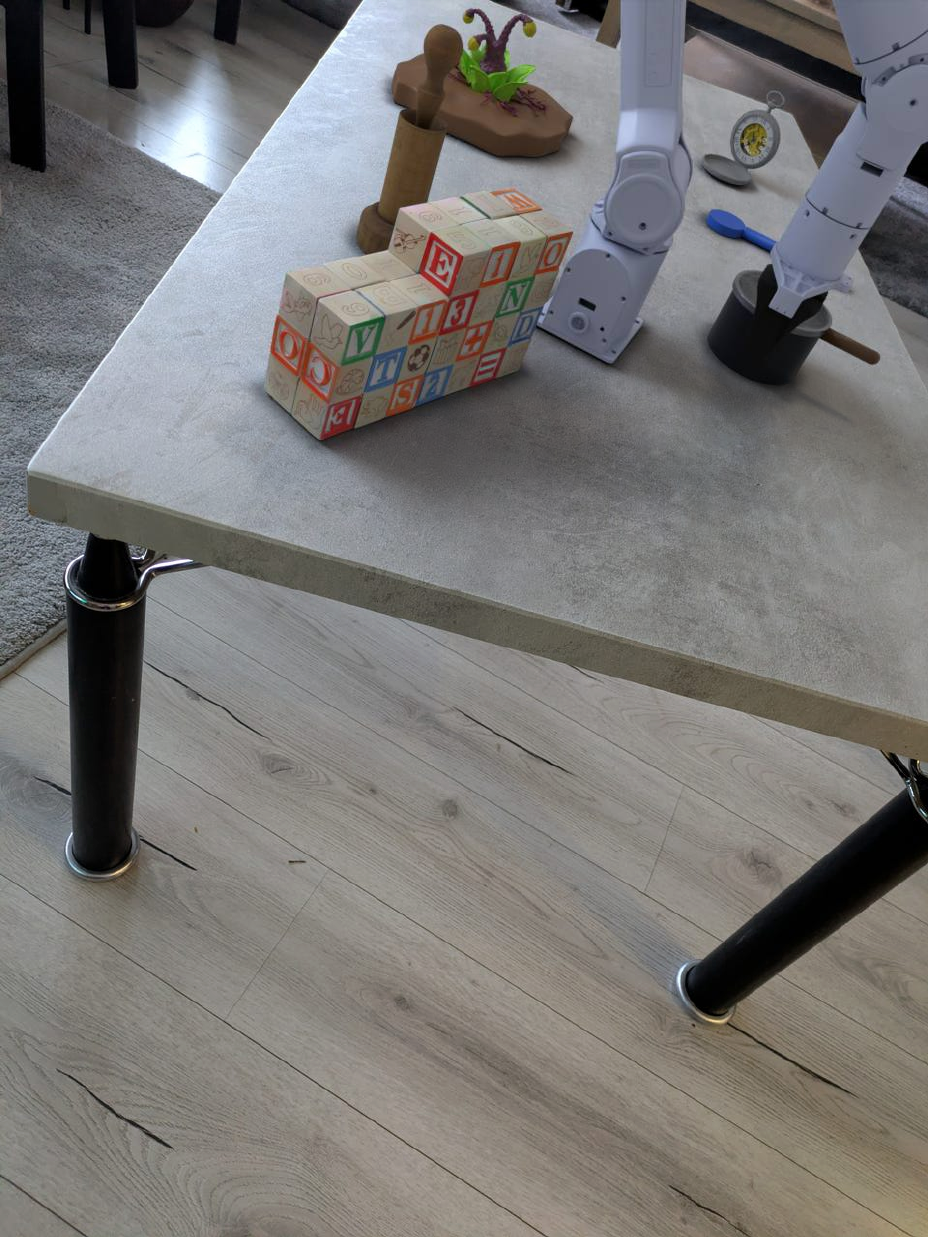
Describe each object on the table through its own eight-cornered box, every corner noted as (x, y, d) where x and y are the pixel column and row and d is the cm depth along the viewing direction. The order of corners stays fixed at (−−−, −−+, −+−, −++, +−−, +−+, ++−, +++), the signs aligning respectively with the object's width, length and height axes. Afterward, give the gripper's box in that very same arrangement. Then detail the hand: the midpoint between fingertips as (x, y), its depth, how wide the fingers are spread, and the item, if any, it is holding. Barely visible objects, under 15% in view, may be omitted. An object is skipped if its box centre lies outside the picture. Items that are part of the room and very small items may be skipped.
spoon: (846, 281, 113) (852, 272, 112) (840, 295, 109) (846, 285, 109) (711, 212, 114) (715, 203, 113) (701, 224, 111) (706, 214, 110)
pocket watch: (697, 173, 122) (737, 90, 115) (701, 150, 128) (739, 70, 121) (758, 198, 122) (801, 117, 115) (759, 175, 128) (800, 96, 121)
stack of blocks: (319, 445, 66) (359, 280, 57) (260, 391, 68) (290, 224, 59) (520, 370, 79) (577, 228, 71) (466, 327, 81) (515, 183, 73)
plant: (514, 174, 105) (551, 64, 97) (364, 90, 108) (388, -24, 100) (587, 136, 119) (625, 37, 111) (453, 63, 122) (480, -39, 114)
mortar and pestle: (346, 223, 87) (395, 0, 74) (413, 230, 90) (471, 17, 77) (367, 265, 83) (423, 38, 71) (437, 271, 86) (502, 54, 74)
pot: (840, 428, 89) (879, 373, 85) (693, 351, 90) (724, 293, 86) (854, 384, 96) (891, 331, 91) (717, 313, 97) (747, 258, 93)
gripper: (873, 262, 72) (777, 412, 81) (895, 206, 82) (807, 345, 91) (786, 218, 72) (701, 372, 82) (818, 168, 83) (739, 309, 92)
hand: (752, 355), depth 87 cm, fingers closed
